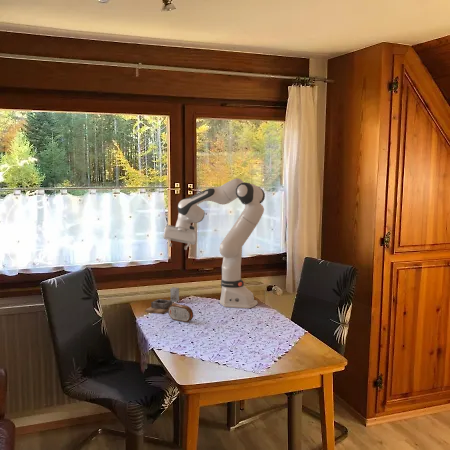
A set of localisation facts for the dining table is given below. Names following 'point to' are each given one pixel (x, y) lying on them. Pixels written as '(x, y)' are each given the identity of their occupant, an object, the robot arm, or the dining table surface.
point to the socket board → (159, 306)
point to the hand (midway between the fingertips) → (177, 247)
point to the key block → (174, 294)
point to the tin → (180, 312)
